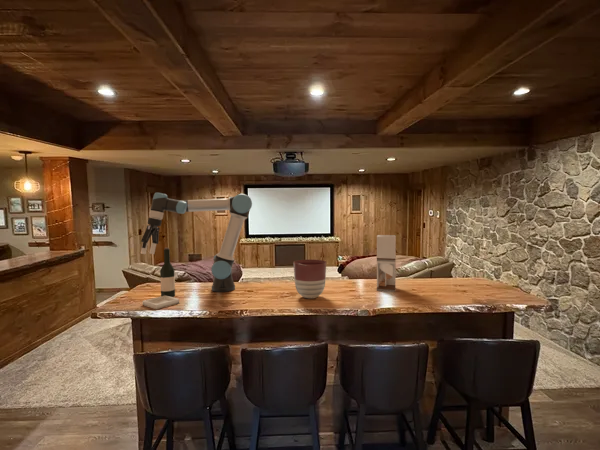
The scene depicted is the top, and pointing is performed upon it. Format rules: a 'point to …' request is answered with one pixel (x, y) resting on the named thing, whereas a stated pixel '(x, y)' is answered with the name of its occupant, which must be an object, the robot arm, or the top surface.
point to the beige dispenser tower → (386, 262)
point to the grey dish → (160, 302)
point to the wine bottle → (167, 276)
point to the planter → (310, 277)
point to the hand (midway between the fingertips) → (147, 253)
